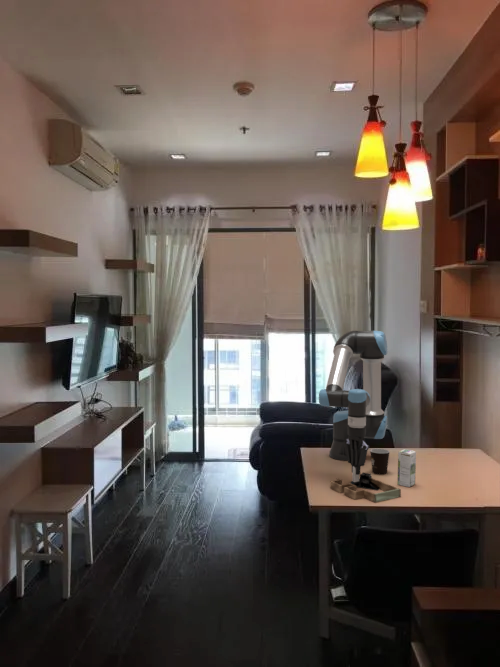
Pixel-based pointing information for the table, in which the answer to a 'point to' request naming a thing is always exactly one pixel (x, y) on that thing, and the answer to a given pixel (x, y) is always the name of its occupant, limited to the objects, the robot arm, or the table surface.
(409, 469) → the syrup box
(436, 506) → the table surface
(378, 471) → the coffee mug
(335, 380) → the robot arm
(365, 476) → the black notched block
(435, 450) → the table surface
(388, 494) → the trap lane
